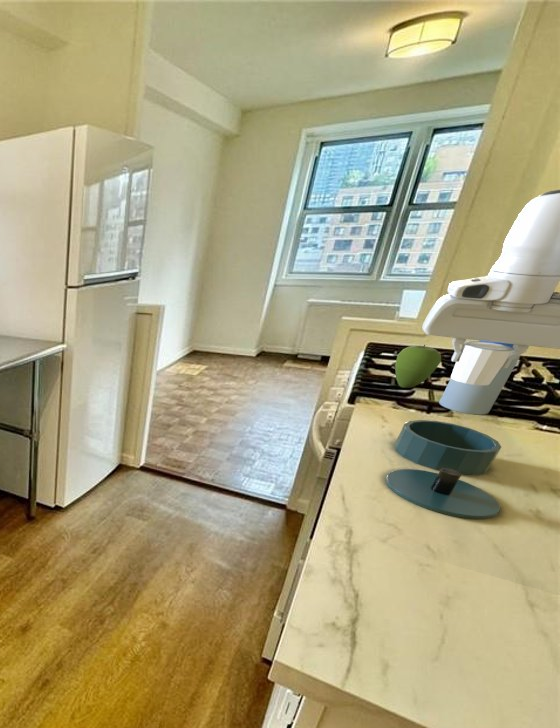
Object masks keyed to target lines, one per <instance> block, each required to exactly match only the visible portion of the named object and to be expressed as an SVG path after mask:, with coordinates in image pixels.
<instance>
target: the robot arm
mask: <svg viewBox="0 0 560 728" xmlns="http://www.w3.org/2000/svg"><path fill="white" fill-rule="evenodd" d="M559 284H560V189H555V190H549V191H546V192H543V193H541V194H539V195H537V196H536V197H534V198H532V199H531V200H530V201H528V202H527V204H526V205H525V206H524V207H523V209H522V210H521V212H520V213H519V214H518V216H517V218H516V220H515V221H514V223H513V225H512V227H511V229H510V230H509V232H508V234H507V236H506V238H505V240H504V243H503V247H502V253H501V255H500V257H499V258H498V260H497V261H496V262H495V264H494V265H492V267H491V269H490V271H489V273H488V275H485V276H479V277H473V278H467V279H461V280H455V281H452V282H451V283H449V285H448V287H447V293H448V294H445V295H443V296H441V297H440V298H438V299H437V300H436V301H435V303H434V304H433V305H432V307H431V309H430V310H429V312H428V314H427V316H426V317H425V319H424V321H423V323H422V326H421V329H422V331H423V332H424V333H425V335H427V336H434V337H443V338H452V340H451V343H452V347H453V350H454V352H453V354H452V356H451V359H450V360H451V362H454V363H456V362H459V360H460V358H461V355H462V353H461V346H462V345H463V344H464V343H465V342H466V341H467V340H469V341H489V342H498V343H507V344H514V345H513V348H514V349H515V350H514V351H512V353H511V354H510V356H509V357H508V358H507V360H506V361H505V363H504V364H503V366H502V367H501V368H508V366H509V365H510V363H511V361H512V360H513V359H515V358H517V357H518V356H520V357H521V355H523V354H525V353H526V352H528V351H527V350H528V349H529V347H536V348H544V349H555V350H560V291H556V289H557V287H558V285H559ZM460 345H461V346H460Z"/></svg>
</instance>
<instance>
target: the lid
mask: <svg viewBox="0 0 560 728" xmlns="http://www.w3.org/2000/svg"><path fill="white" fill-rule="evenodd" d="M461 477H462V475H461V473H460V472H458V471H456V470H453V469H449V468H442V469H441V470H440V471H438V473H437V472H433V471H428V470H421V469H412V468H411V469H410V468H409V469H407V468H406V469H405V468H402V469H395V470H392V471H390V472H388V474H387V475H386V477H385V483H386V485H387V487H388V488H389V489H390V490H391V491H392V492H393V493H395V494H396V495H397V496H400V497H401V498H402V499H404V500H406V501H408V502H410V503H413V504H415V505H416V506H419V507H422V508H425V509H427V510H430V511H433V512H435V513H439V514H443V515H447V516H451V517H457V518H461V519H463V518H464V519H469V520H470V519H472V520H486V519H491V518H494V517H496V516H497V515H498V514H499V512H500V511H501V506H500V503H499V502H498V501H497V499H496V498H495V497H493V496H492V495H491V494H489V493H488V492H486V491H484V490H482V489H481V488H479V487H478V486H475V485H473V484H472V483H471V484H470V483H468V482H466V481H463V480H461V479H460V478H461Z"/></svg>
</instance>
